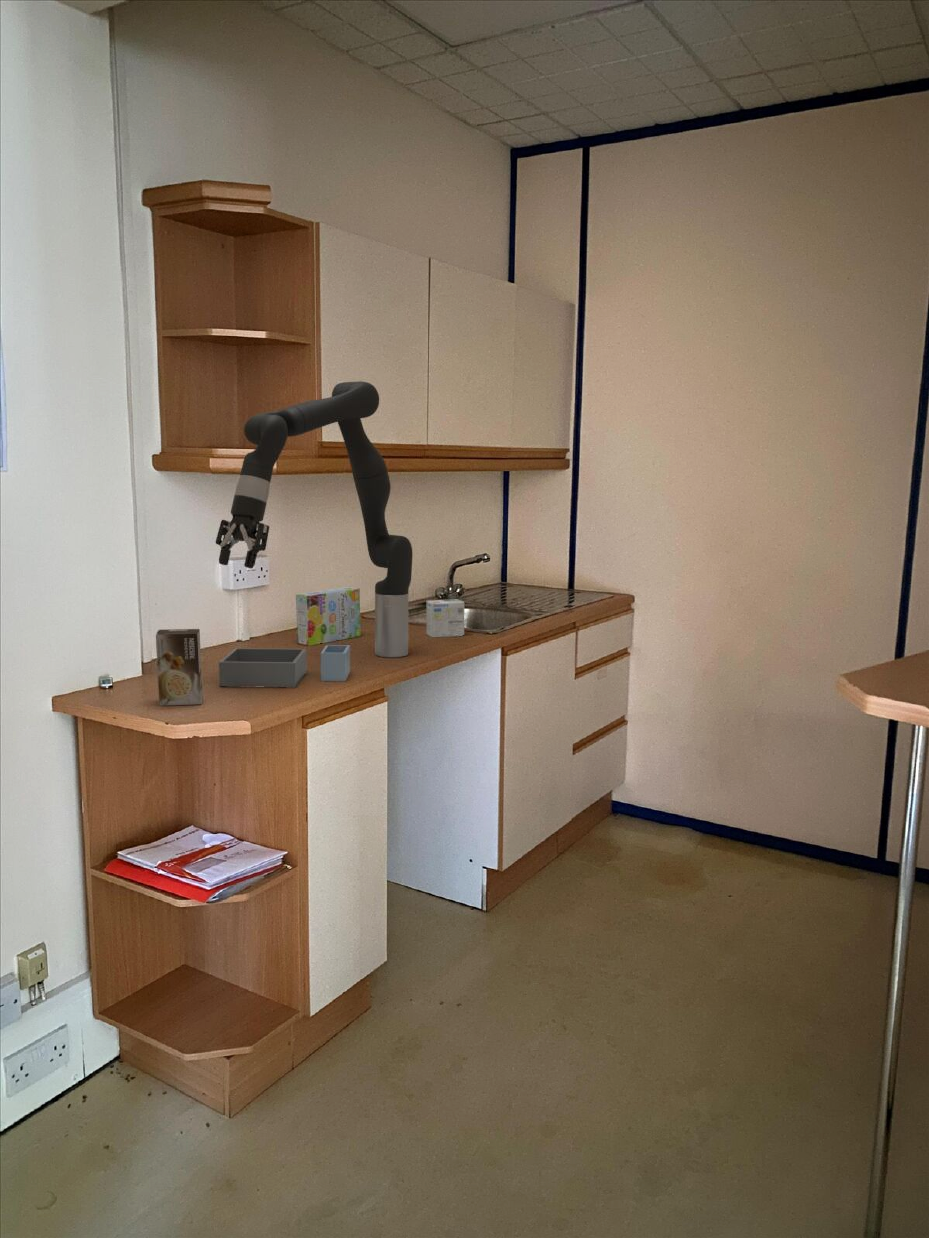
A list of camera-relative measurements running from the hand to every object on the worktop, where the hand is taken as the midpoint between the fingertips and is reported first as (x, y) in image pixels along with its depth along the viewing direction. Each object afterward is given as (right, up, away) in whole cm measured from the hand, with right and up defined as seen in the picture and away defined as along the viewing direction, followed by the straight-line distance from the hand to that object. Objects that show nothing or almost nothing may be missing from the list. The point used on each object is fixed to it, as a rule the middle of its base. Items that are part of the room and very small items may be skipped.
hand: (235, 566), depth 225 cm
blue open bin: (+21, -27, +19) cm, 39 cm away
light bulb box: (+47, -17, +77) cm, 92 cm away
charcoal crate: (+4, -27, +15) cm, 31 cm away
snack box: (+12, -19, +66) cm, 70 cm away
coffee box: (-10, -31, -8) cm, 33 cm away
